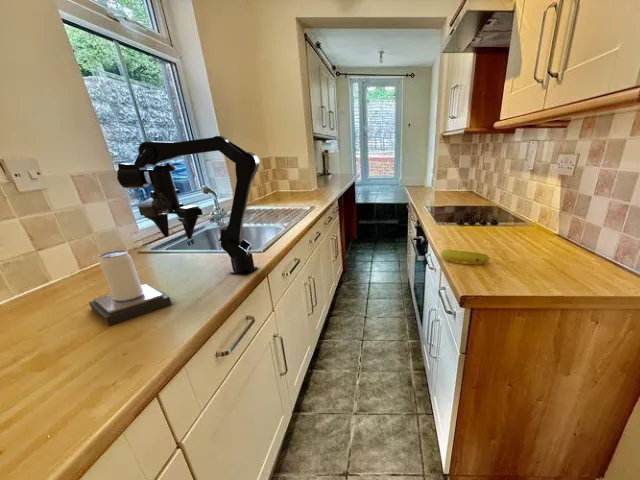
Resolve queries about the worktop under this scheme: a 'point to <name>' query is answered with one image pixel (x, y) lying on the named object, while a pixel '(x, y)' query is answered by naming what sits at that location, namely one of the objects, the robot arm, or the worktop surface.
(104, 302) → the scale pan
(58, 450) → the worktop surface
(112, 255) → the can
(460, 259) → the banana
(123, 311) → the scale
